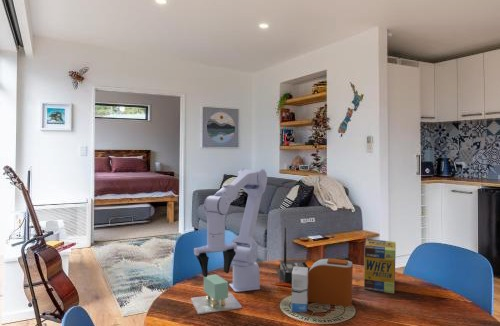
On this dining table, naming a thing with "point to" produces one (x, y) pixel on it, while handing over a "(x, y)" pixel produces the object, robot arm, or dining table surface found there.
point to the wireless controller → (288, 266)
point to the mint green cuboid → (216, 287)
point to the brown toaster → (330, 282)
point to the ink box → (299, 289)
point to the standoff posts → (215, 301)
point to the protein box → (379, 266)
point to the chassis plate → (205, 304)
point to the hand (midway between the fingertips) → (215, 274)
